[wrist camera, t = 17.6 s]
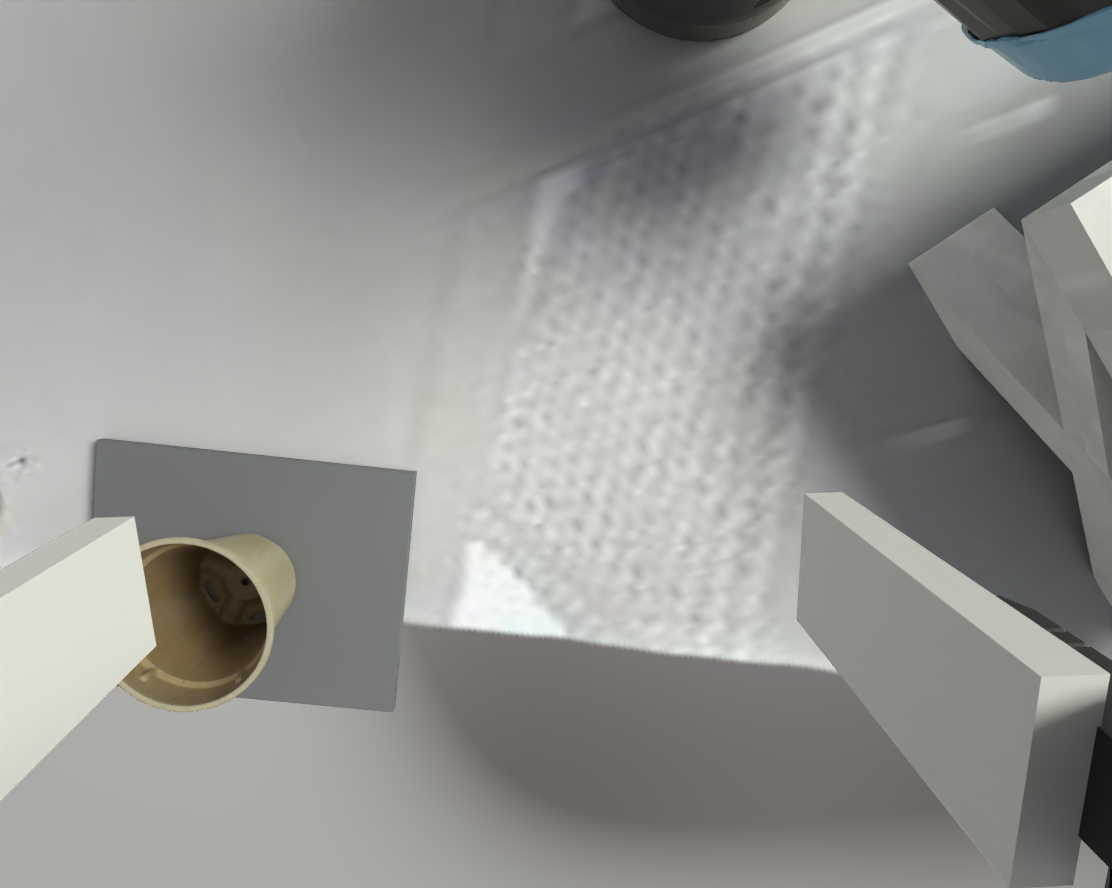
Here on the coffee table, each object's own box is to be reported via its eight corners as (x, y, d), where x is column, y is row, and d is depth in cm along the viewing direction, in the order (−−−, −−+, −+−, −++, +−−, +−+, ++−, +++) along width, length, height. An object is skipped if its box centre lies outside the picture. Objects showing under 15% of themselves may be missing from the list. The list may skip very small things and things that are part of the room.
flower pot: (251, 476, 45) (181, 500, 36) (353, 583, 45) (309, 632, 37) (145, 573, 45) (51, 619, 37) (248, 677, 46) (180, 747, 37)
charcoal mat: (416, 471, 46) (414, 473, 45) (395, 706, 47) (392, 712, 46) (104, 438, 45) (96, 439, 44) (93, 677, 47) (85, 683, 46)
